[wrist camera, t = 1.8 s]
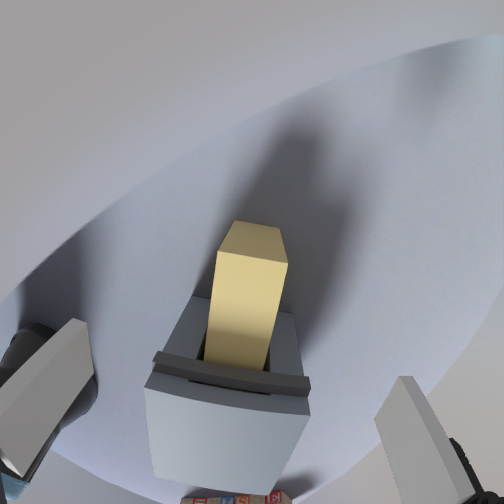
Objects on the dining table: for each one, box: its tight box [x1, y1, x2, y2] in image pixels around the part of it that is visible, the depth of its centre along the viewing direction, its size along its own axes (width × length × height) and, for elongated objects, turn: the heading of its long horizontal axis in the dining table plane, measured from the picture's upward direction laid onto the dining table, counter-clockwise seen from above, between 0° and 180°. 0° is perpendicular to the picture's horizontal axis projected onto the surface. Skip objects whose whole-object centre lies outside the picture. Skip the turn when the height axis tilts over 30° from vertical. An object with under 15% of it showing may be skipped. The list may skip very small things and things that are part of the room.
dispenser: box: [144, 296, 311, 495], centre depth 23 cm, size 10×13×14 cm
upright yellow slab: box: [201, 220, 288, 394], centre depth 23 cm, size 4×14×10 cm, turn 170°
